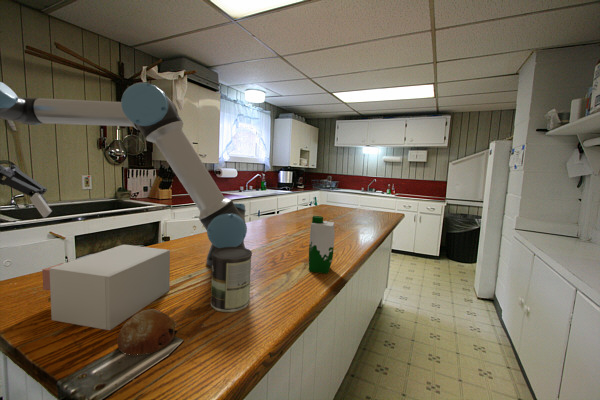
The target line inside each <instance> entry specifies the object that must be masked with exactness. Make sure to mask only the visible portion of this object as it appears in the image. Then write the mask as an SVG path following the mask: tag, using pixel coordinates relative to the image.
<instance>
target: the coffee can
mask: <svg viewBox="0 0 600 400" xmlns="http://www.w3.org/2000/svg"><path fill="white" fill-rule="evenodd" d="M252 255H253V252H252V250H251V249H249V248H247V247H245V248H242V247H223V248H219V249H216V250H214V251H213V252H212V267H211V292H210V294H211V295H210V307H211V308H212V309H213V310H215V311H218V312H222V313H235V312H239V311H242V310H243V309H246V308H247V307H248V306H249V304H250V292H251V291H250V288H251V286H250V284H251V272H252V271H251V269H252Z"/></svg>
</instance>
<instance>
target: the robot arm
mask: <svg viewBox="0 0 600 400" xmlns="http://www.w3.org/2000/svg"><path fill="white" fill-rule="evenodd" d="M0 119H2V120H7V121H11V122H12V121H13V122H17V123H21V124H23V125H28V126H29V125H30V126H38V125H42V124H48V125H49V124H51V125H52V124H53V125H79V126H80V125H81V126H83V125H84V126H85V125H86V126H87V125H88V126H107V127H108V126H112V127H115V126H116V127H133V128H134V129H136V130H137V131H140V133H141V134H142V136H143V137H144V139H145V140H146V141H147V142H150V143H152V144H153V143H154V144H155V145H156V147H157V148H158V150H159V151H160V153H161V155H163V158H164V159H165V160H166V162H167V164H168V165H169V167H170V168H171V169H172V171H173V173H174V174H175V176H176V177H177V178H178V180H179V182H180V183H181V185H182V186H183V188H184V189H185V191H186V192H187V194H188V195H189V197H190V198H191V200H192V201H193V203H194V204H195V206H196V207H197V208H198V210H199V216H198V220H199V221H200V222H201V224H202V225H203V228H204V229H205V230H206V234H207V237H208V238H207V239H208V240H209V242H210V243H211V245H210V247H209V251H208V253H207V256H206V265H207V266H209V267H210V268H212V252H213V251H214V250H216V249H219V248H223V247H242V248H246V246H245V238H246V236H247V233H248V226H247V224H246V218H245V217H246V212H247V211H246V205H245V203H239V202H238V203H237V202H236V203H235V202H234V201H233V200H232V199H231V198H228V197H225V196H224V195H223V193H222V191H221V190H220V189H219V186H218V185H217V183H216V182H215V180H214V178H213V177H212V176H211V174H210V172H209V170H208V169H207V167H206V166H205V164H204V163H203V161H202V160H201V158H200V157H199V155H198V153H197V152H196V150H195V149H194V147H193V146H192V143H190V141H189V138H187V136H186V134H185V132H184V131H183V128H184V122H183V120H182V118H181V117H180V114H179V112H178V109H177V106H176V104H175V103H174V102H173V101H172V100H171V99H170V98H169V97H168V96H167V94H166V93H165V92H164V91H163V90H162V89H161V88H159V86H156V85H154V84H151V83H147V82H139V83H134V84H132V85H130V86H129V87H127V88H126V89H125V90H124V92H123V94H122V96H121V100H120V101H109V100H108V101H106V100H83V99H66V98H65V99H62V98H43V97H41V98H40V97H24V96H18V95H17V94H16V92H15V91H14V90H13V89H11V88H10V87H9V86H8V85H7V84H5V83H4V82H1V81H0ZM4 177H5V179H3V178H4ZM0 185H2V186H7V187H9V188H11V189H14V190H16V191H18V192H20V193H23V194H24V195H26V196H29V197H30V198H29V200H30V201H31V203H32V204H33V205H34V207H35V208H36V209H37V211H38V212H39V214H40V215H41V216H42V218H47V217H48V216H49V215H50V214H51V213H52V212H53V210H52V208H50V206H49V205H48V200H47V199H46V198H45V196H44V194H45V193H46V192H47V191H48V188H46V187H45V186H44V185H42V184H40V182H38V181H36V180H35V179H33V178H32V177H30V176H29V175H27V174H26V173H25V172H23V171H22V170H21V169H20V168H19V167H18V166H17V165H14V164H12V165H11V166H10V167H8V166H7V167H5V166H3V165H2V164H0Z"/></svg>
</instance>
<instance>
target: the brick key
mask: <svg viewBox="0 0 600 400" xmlns="http://www.w3.org/2000/svg"><path fill="white" fill-rule="evenodd" d="M61 264H64V263H63V262H62V263H59V264H55V265H52V266H49V267H46V268H42V273H41V275H42V290H44V291H50V268H52V267H55V266H58V265H61Z"/></svg>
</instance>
